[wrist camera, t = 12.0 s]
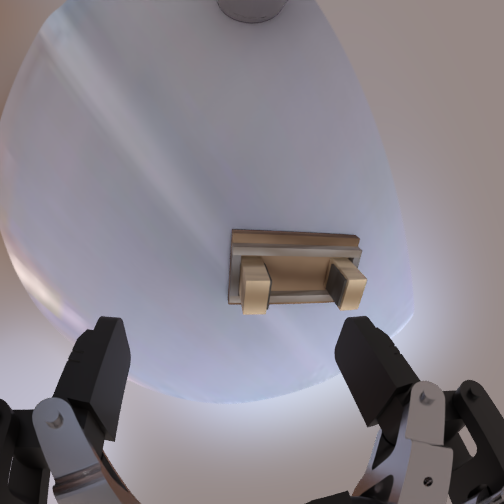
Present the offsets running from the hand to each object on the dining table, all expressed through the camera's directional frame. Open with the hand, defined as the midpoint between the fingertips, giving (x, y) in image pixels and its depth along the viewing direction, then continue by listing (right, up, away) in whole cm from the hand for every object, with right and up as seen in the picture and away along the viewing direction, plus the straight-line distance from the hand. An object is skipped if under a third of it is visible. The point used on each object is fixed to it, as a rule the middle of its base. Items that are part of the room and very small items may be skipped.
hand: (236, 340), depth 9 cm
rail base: (+7, +1, +34) cm, 35 cm away
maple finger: (+14, 0, +34) cm, 37 cm away
